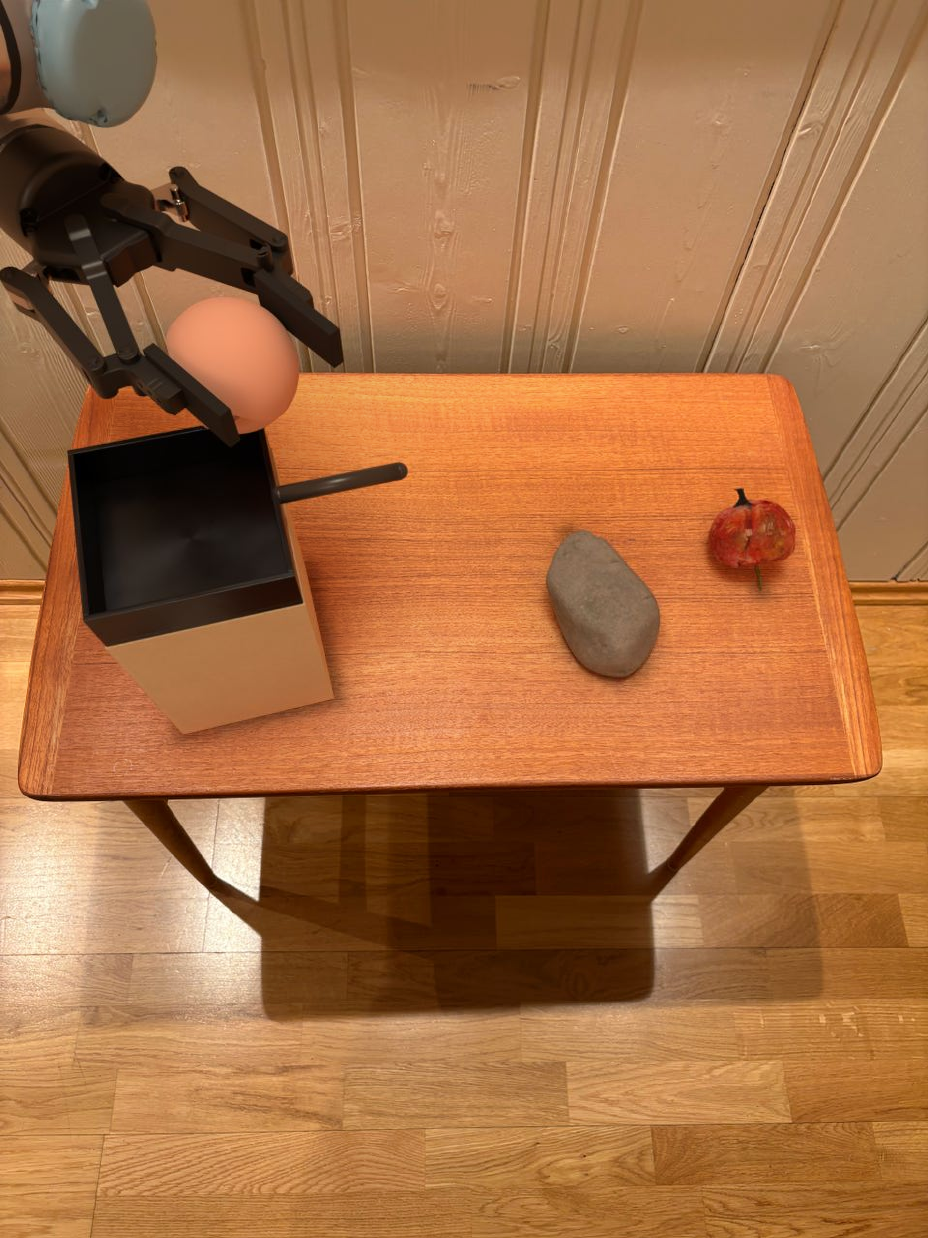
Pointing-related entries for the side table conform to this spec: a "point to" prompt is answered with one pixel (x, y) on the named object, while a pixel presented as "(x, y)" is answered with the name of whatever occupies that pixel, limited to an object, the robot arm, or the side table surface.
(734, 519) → the pomegranate
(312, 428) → the side table surface
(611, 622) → the stone
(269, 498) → the pan
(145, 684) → the stand
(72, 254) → the robot arm
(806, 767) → the side table surface
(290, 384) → the toy ball
